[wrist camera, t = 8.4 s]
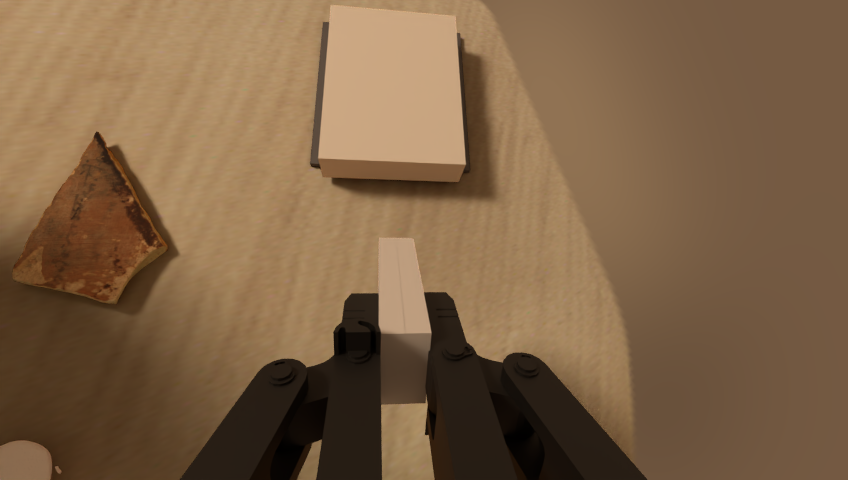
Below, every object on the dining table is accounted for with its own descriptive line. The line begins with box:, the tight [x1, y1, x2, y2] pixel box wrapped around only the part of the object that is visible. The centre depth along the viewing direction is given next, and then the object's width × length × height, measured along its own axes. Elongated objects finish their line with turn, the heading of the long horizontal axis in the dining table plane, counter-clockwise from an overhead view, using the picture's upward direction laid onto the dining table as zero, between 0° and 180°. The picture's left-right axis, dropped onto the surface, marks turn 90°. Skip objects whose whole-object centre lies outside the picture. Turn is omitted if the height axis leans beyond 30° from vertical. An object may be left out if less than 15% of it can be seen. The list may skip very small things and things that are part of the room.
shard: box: [12, 132, 168, 304], centre depth 26 cm, size 11×8×2 cm
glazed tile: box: [318, 5, 466, 182], centre depth 30 cm, size 10×3×14 cm
